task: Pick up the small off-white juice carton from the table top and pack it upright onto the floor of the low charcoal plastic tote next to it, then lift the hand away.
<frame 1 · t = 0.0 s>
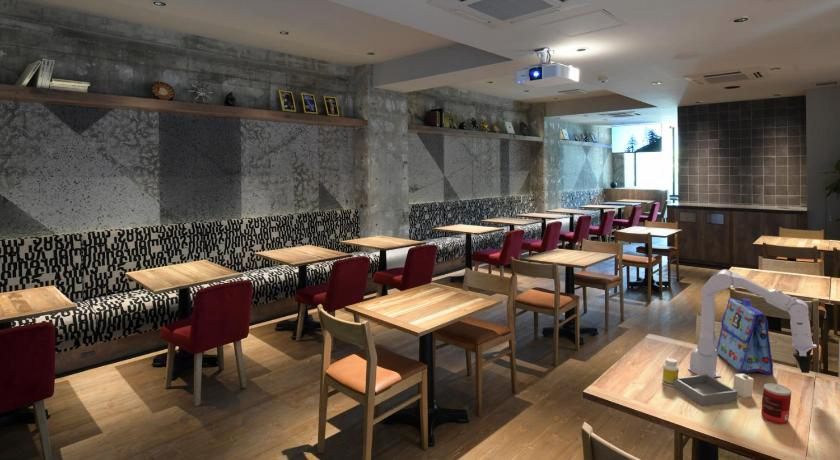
hand: (805, 369, 179), 11 cm above the table, tool pointing down, fingers open, 7 cm apart
lunch bag: (743, 364, 210), on the table
juice carton: (742, 394, 183), on the table
supplement bottle: (669, 383, 193), on the table
tote: (704, 394, 183), on the table
canned food: (774, 419, 166), on the table
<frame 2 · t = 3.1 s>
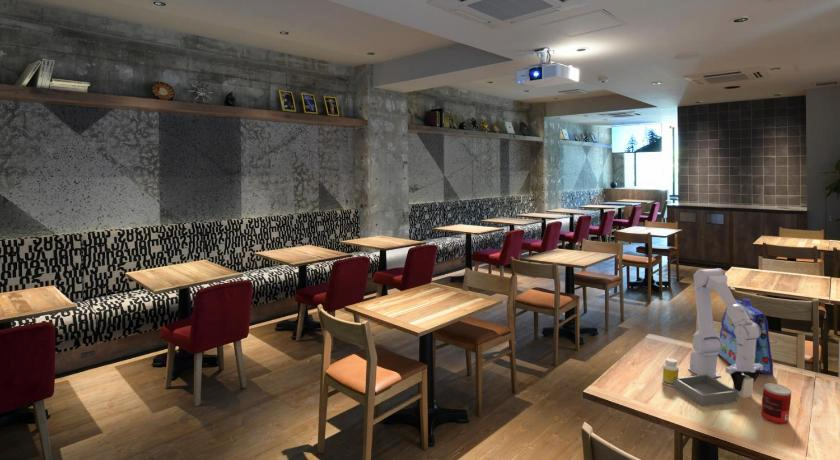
hand: (742, 389, 183), 2 cm above the table, tool pointing down, fingers closed on juice carton, 4 cm apart
juice carton: (742, 394, 183), on the table, touching gripper
everything else where it was.
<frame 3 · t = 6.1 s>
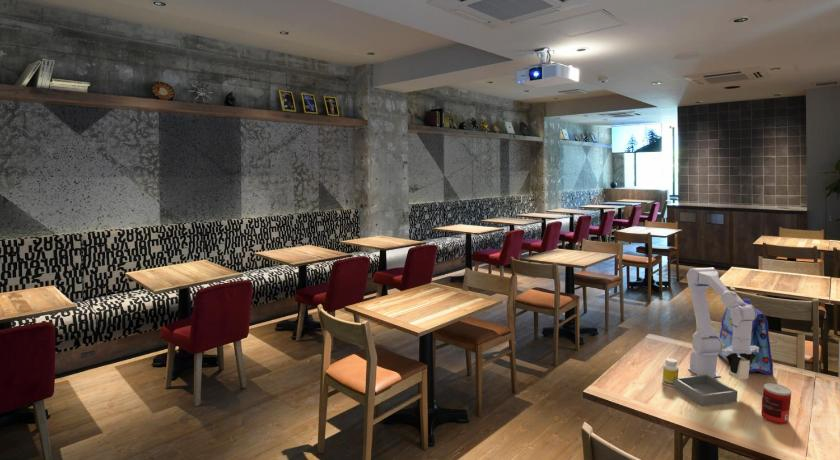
hand: (738, 371, 182), 9 cm above the table, tool pointing down, fingers closed on juice carton, 4 cm apart
juice carton: (738, 376, 182), point 7 cm above the table, touching gripper
everything else where it was.
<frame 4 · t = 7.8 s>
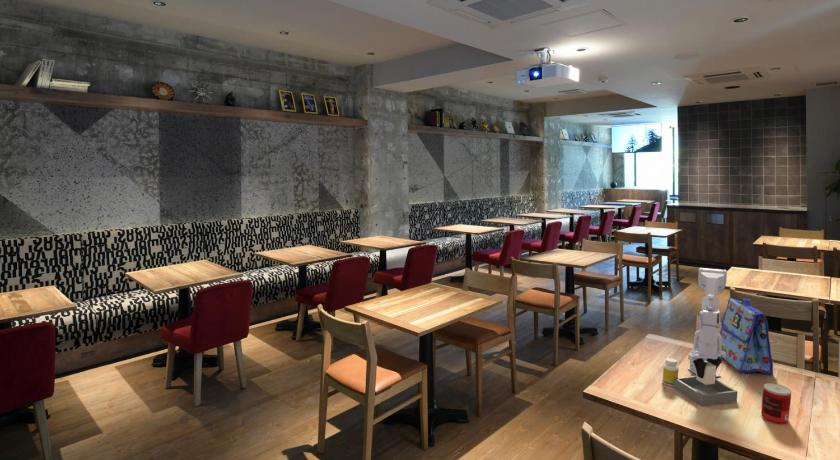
hand: (705, 376, 182), 7 cm above the table, tool pointing down, fingers closed on juice carton, 4 cm apart
juice carton: (705, 381, 182), point 5 cm above the table, touching gripper
everything else where it was.
when the fingers open (4 cm above the table, at t = 9.3 s): juice carton drops 1 cm, resting on tote.
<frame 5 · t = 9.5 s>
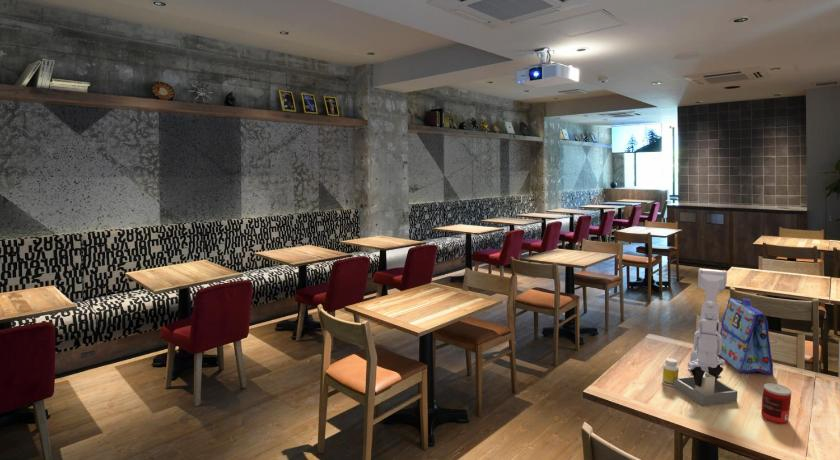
hand: (704, 384, 183), 4 cm above the table, tool pointing down, fingers open, 5 cm apart
juice carton: (704, 392, 183), point 1 cm above the table, touching tote
everything else where it was.
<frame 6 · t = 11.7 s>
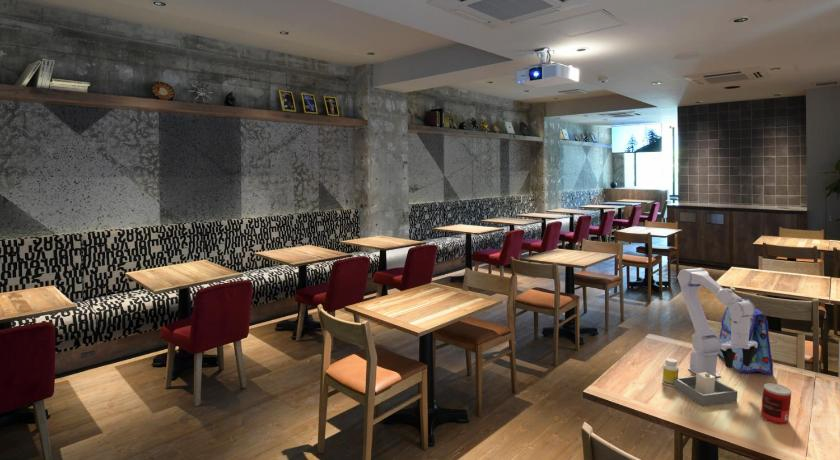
hand: (737, 366, 185), 9 cm above the table, tool pointing down, fingers open, 7 cm apart
nothing on the table moved.
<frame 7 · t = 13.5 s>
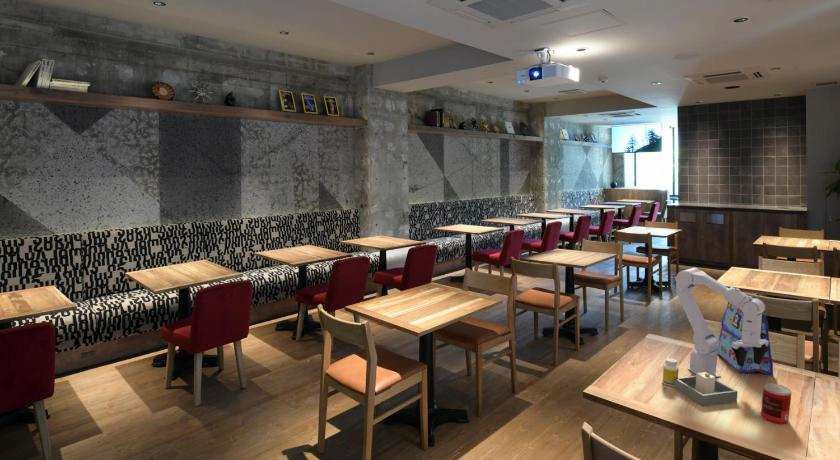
hand: (748, 364, 187), 9 cm above the table, tool pointing down, fingers open, 7 cm apart
nothing on the table moved.
at the end: juice carton inside the target area on the tote (0.1 cm from its centre), point 0.8 cm above the tote's base; juice carton tilted 0°; the gripper is holding nothing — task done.
